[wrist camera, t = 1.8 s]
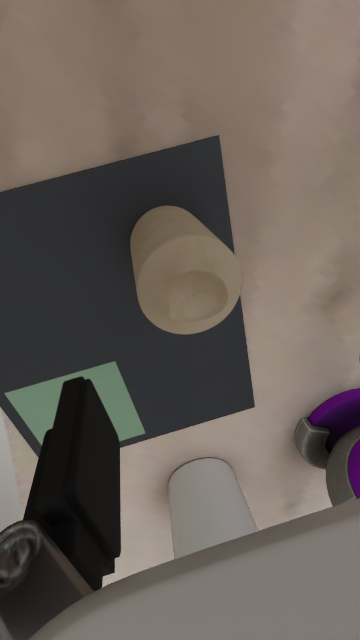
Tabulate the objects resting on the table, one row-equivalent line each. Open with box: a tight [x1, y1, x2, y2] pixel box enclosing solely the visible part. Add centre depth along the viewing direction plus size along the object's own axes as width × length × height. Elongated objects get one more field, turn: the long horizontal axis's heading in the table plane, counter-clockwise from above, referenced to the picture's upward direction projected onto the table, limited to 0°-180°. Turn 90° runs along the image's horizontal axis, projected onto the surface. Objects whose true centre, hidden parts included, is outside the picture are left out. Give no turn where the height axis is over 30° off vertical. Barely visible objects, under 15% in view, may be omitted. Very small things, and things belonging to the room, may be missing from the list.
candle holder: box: [168, 458, 259, 559], centre depth 34 cm, size 10×10×12 cm
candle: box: [130, 206, 242, 334], centre depth 19 cm, size 6×6×10 cm
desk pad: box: [0, 136, 255, 457], centre depth 27 cm, size 26×23×1 cm
